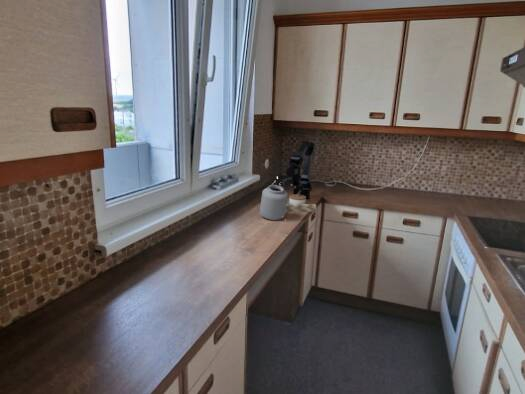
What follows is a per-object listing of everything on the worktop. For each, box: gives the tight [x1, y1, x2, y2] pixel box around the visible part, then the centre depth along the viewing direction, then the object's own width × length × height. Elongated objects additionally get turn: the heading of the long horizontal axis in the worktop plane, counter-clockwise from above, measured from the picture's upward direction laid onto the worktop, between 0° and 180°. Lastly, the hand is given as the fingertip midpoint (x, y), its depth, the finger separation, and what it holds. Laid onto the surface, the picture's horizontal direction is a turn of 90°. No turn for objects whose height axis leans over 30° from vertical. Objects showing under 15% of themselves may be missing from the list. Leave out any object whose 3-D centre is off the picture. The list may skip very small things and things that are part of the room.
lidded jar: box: [288, 193, 307, 204], centre depth 226 cm, size 11×11×9 cm
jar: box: [259, 176, 289, 221], centre depth 201 cm, size 19×15×25 cm
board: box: [285, 203, 317, 213], centre depth 220 cm, size 20×3×4 cm, turn 100°
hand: (294, 197), depth 232 cm, fingers closed
